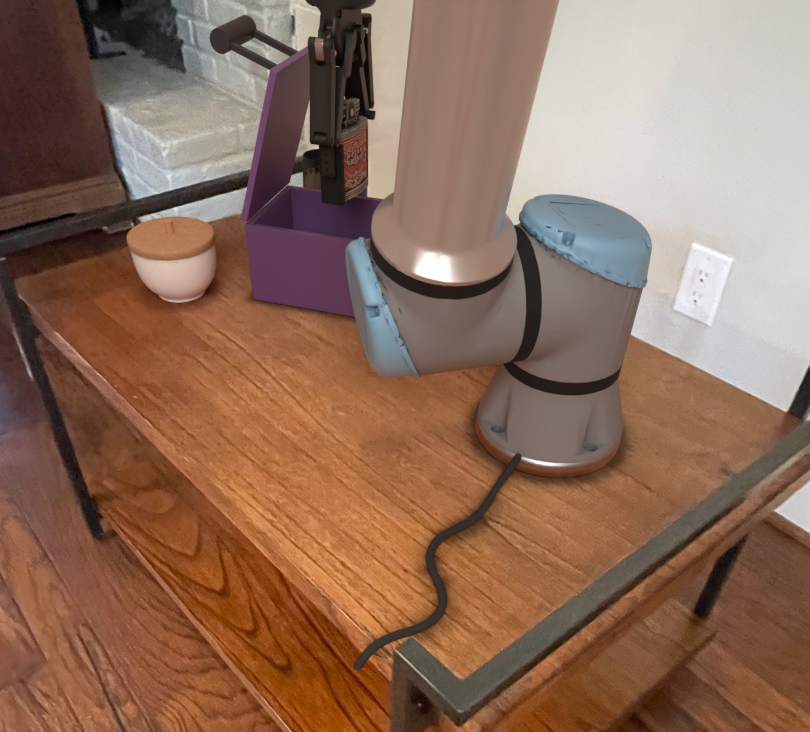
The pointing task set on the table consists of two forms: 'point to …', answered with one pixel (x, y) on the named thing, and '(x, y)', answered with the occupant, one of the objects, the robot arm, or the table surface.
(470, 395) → the table surface
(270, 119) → the lid
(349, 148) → the lighter
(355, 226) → the purple box base
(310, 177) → the mug
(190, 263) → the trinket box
